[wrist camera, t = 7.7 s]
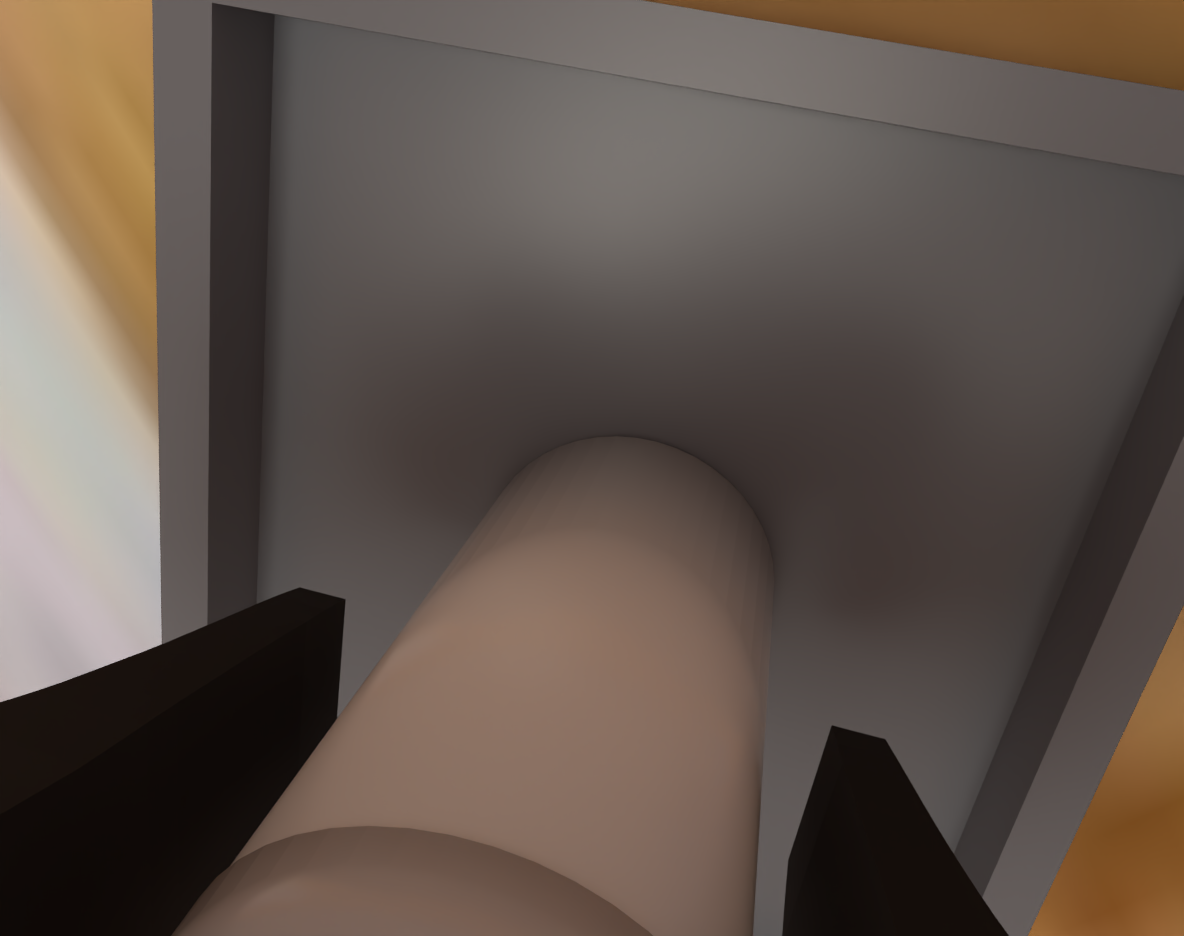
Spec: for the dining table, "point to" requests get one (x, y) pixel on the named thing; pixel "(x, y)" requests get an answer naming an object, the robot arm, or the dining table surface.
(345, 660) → the tray
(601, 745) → the salt shaker
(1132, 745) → the dining table surface
